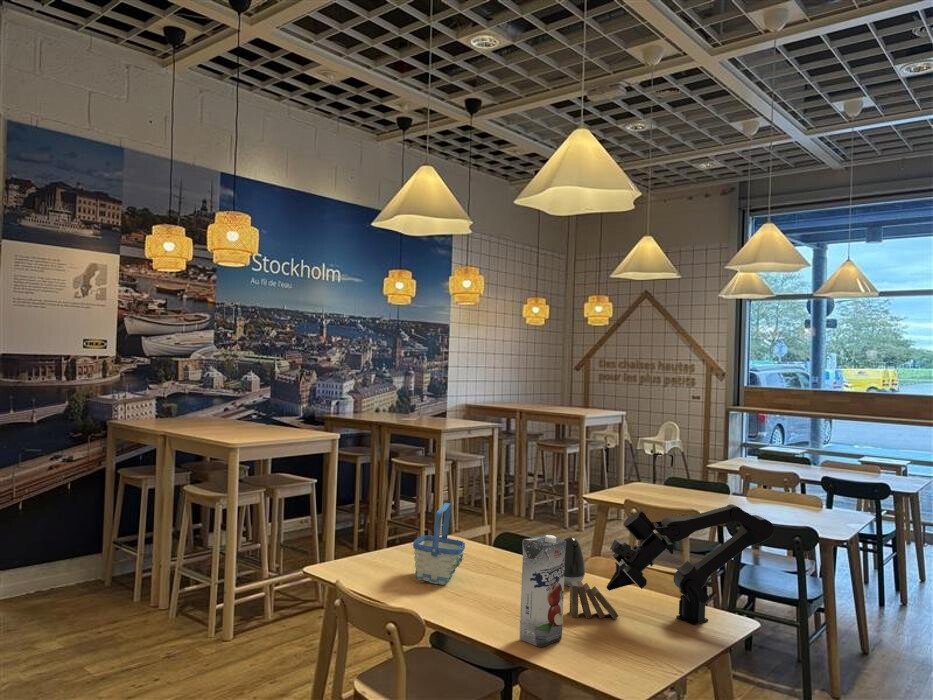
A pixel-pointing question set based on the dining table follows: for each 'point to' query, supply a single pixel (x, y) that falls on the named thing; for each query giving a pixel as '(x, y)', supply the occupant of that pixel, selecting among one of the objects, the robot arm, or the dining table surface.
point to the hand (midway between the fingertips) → (607, 589)
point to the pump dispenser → (573, 562)
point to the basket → (438, 552)
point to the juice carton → (542, 590)
